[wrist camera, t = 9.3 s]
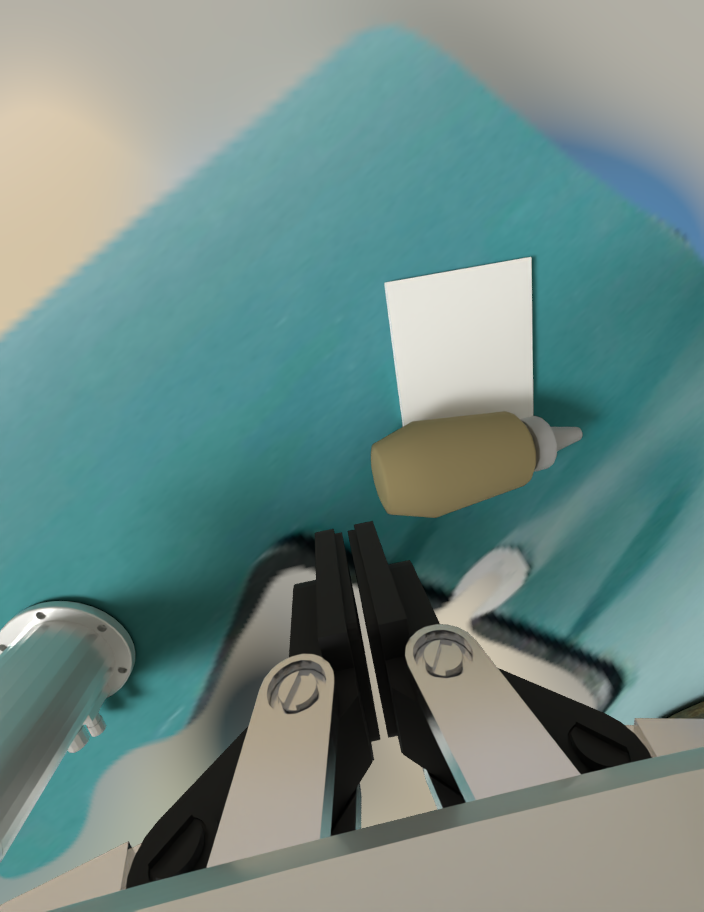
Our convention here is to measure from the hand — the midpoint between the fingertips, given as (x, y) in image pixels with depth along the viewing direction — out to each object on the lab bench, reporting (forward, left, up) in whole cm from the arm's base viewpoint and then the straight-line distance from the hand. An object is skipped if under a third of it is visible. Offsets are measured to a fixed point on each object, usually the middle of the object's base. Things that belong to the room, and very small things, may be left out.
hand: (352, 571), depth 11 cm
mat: (0, -12, -24) cm, 27 cm away
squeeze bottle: (-5, -3, -19) cm, 20 cm away
